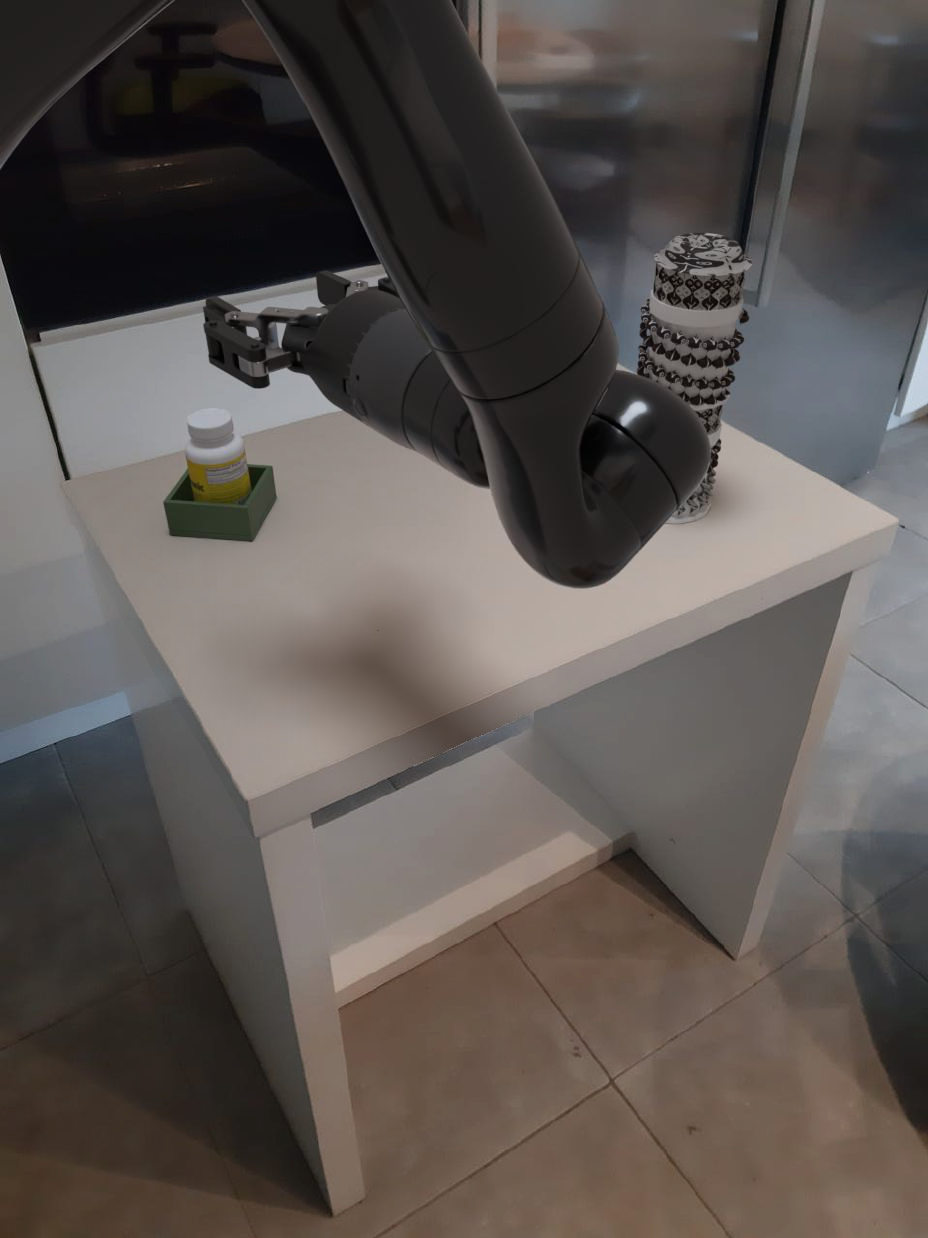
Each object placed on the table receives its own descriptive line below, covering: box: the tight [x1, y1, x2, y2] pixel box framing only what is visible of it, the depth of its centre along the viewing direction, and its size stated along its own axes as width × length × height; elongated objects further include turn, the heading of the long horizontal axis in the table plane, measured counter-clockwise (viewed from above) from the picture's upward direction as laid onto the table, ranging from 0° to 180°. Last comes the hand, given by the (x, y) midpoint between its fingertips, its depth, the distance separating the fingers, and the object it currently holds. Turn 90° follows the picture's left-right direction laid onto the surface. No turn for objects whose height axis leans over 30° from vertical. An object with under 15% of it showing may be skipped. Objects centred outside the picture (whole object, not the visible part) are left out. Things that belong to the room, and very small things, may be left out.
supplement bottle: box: [184, 407, 252, 505], centre depth 91 cm, size 5×5×10 cm
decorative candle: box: [636, 232, 753, 525], centre depth 89 cm, size 9×9×25 cm
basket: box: [162, 463, 278, 542], centre depth 93 cm, size 8×8×4 cm
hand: (267, 298), depth 68 cm, fingers open, 8 cm apart
